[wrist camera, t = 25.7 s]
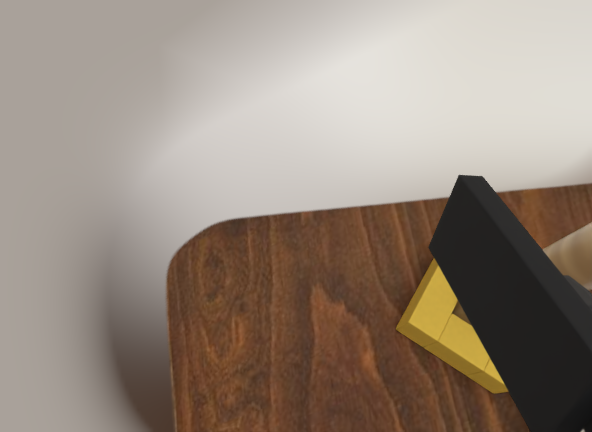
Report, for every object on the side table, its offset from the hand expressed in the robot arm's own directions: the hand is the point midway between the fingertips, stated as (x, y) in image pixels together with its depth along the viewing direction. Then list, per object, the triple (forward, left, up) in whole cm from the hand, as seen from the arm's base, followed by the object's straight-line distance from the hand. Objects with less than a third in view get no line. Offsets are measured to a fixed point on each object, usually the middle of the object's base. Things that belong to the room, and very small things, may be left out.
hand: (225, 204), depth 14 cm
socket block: (+17, +16, -32) cm, 39 cm away
